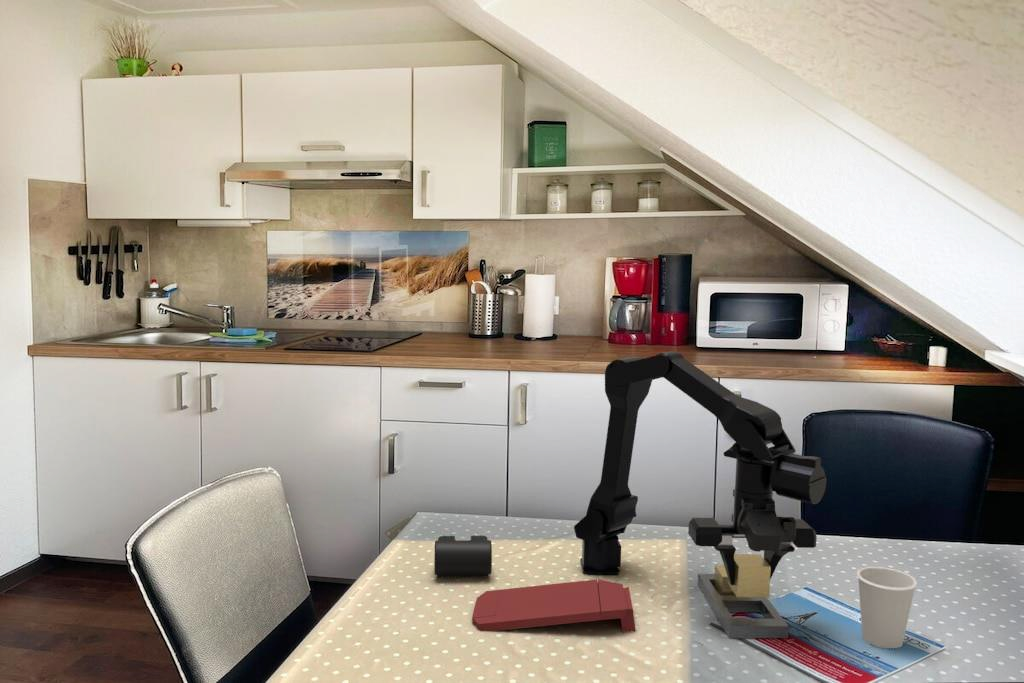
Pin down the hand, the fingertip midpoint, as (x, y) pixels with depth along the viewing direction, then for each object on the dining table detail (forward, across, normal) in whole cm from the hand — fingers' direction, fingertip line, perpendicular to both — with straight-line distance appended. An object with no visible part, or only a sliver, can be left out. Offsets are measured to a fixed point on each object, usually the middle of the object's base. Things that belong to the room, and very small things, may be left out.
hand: (748, 584), depth 131 cm
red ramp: (+7, -31, +1) cm, 31 cm away
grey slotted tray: (+6, 0, +4) cm, 7 cm away
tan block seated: (+6, 0, +8) cm, 10 cm away
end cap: (+7, -46, +17) cm, 49 cm away
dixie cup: (+6, +19, -6) cm, 21 cm away
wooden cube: (+1, 0, 0) cm, 1 cm away
